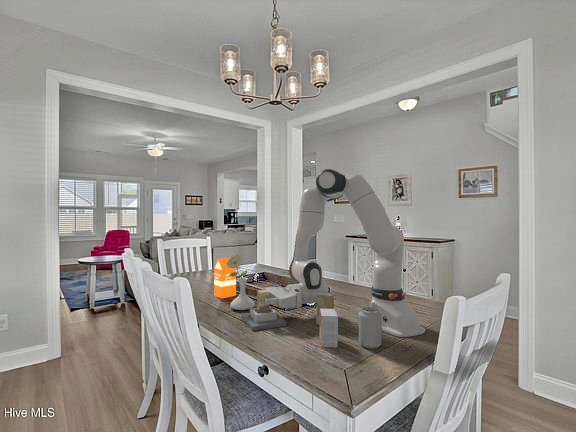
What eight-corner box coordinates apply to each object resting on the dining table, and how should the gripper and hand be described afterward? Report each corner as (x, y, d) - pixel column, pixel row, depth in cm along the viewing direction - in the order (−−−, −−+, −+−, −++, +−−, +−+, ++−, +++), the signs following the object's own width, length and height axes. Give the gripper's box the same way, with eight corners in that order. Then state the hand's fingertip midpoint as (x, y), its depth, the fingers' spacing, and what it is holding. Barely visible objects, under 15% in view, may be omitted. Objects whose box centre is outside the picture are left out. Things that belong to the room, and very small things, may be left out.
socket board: (286, 325, 122) (286, 314, 122) (252, 330, 117) (252, 318, 117) (272, 313, 137) (272, 303, 137) (241, 317, 132) (241, 306, 131)
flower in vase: (252, 303, 151) (252, 252, 151) (257, 310, 140) (257, 255, 140) (224, 306, 147) (225, 253, 147) (228, 313, 136) (228, 256, 136)
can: (379, 340, 108) (379, 306, 108) (383, 350, 101) (383, 313, 101) (357, 339, 109) (357, 305, 109) (359, 349, 102) (360, 312, 102)
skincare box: (315, 324, 124) (316, 293, 124) (318, 321, 128) (318, 291, 128) (331, 326, 121) (332, 295, 121) (334, 323, 126) (334, 292, 125)
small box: (319, 337, 111) (319, 308, 111) (335, 338, 111) (335, 308, 111) (320, 347, 103) (321, 315, 103) (337, 347, 103) (338, 316, 103)
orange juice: (213, 295, 166) (214, 257, 166) (228, 292, 172) (228, 256, 172) (221, 298, 160) (221, 259, 160) (236, 295, 166) (236, 257, 166)
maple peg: (269, 318, 126) (269, 291, 126) (260, 319, 124) (260, 292, 124) (266, 315, 130) (266, 289, 129) (256, 316, 128) (257, 290, 128)
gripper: (283, 282, 141) (253, 285, 136) (302, 293, 123) (269, 296, 117) (283, 296, 142) (253, 299, 136) (302, 309, 123) (269, 313, 117)
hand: (261, 298), depth 127 cm, fingers open, 8 cm apart
